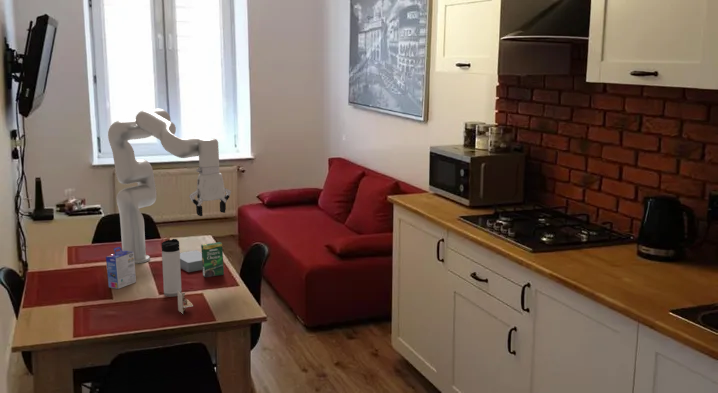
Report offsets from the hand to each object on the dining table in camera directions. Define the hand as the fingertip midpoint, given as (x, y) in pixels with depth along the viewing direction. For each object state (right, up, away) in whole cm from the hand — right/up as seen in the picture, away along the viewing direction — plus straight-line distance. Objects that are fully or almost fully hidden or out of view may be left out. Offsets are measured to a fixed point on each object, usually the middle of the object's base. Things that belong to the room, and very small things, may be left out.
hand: (211, 213), depth 284 cm
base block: (-12, -22, +19) cm, 31 cm away
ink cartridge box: (-33, -27, -7) cm, 43 cm away
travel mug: (-10, -29, -18) cm, 36 cm away
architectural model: (-2, -33, -36) cm, 49 cm away
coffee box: (0, -25, +5) cm, 25 cm away
